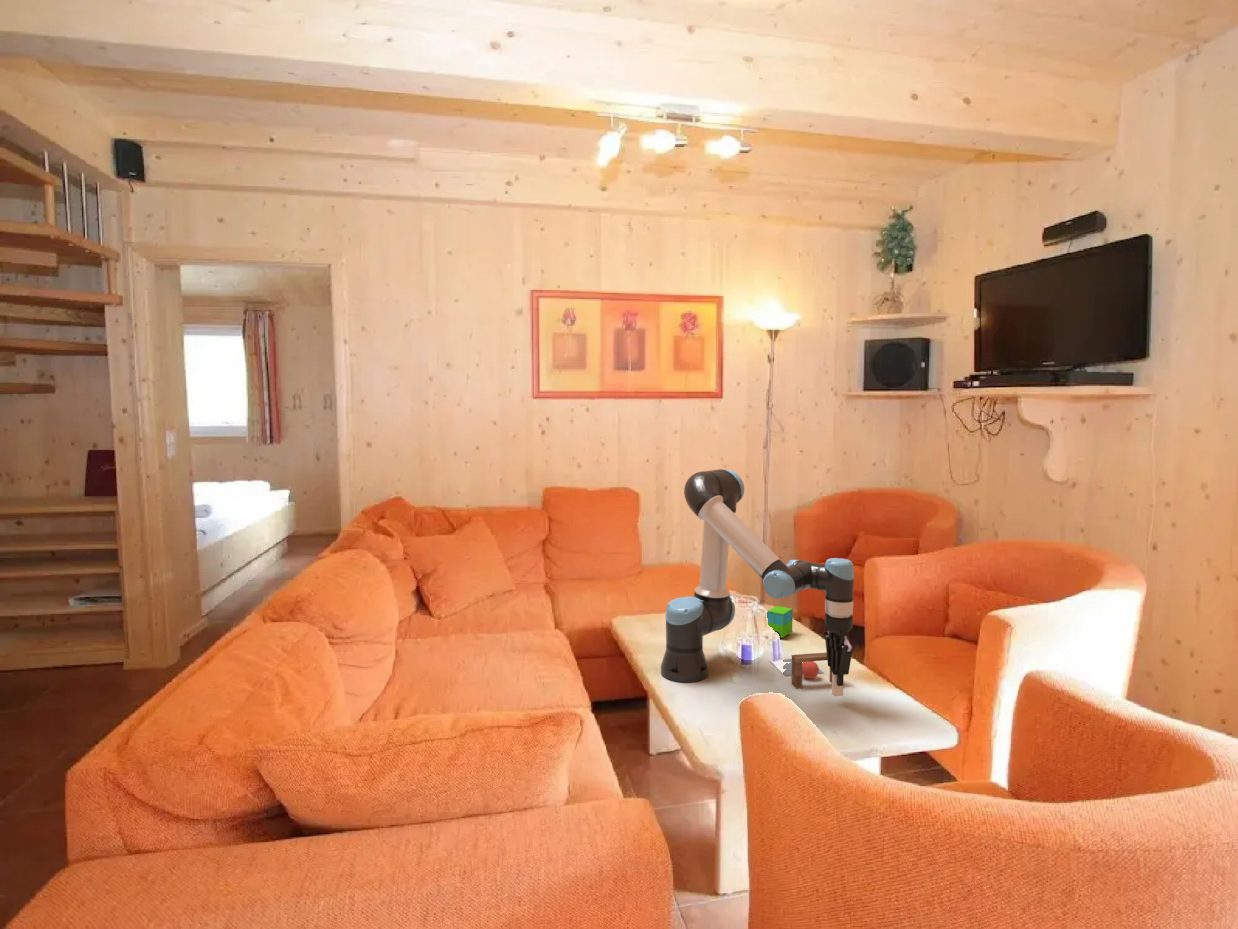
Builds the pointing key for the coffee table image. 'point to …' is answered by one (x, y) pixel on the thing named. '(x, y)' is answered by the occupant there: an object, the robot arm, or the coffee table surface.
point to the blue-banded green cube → (780, 620)
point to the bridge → (797, 666)
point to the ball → (810, 669)
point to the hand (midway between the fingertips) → (837, 695)
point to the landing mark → (789, 668)
